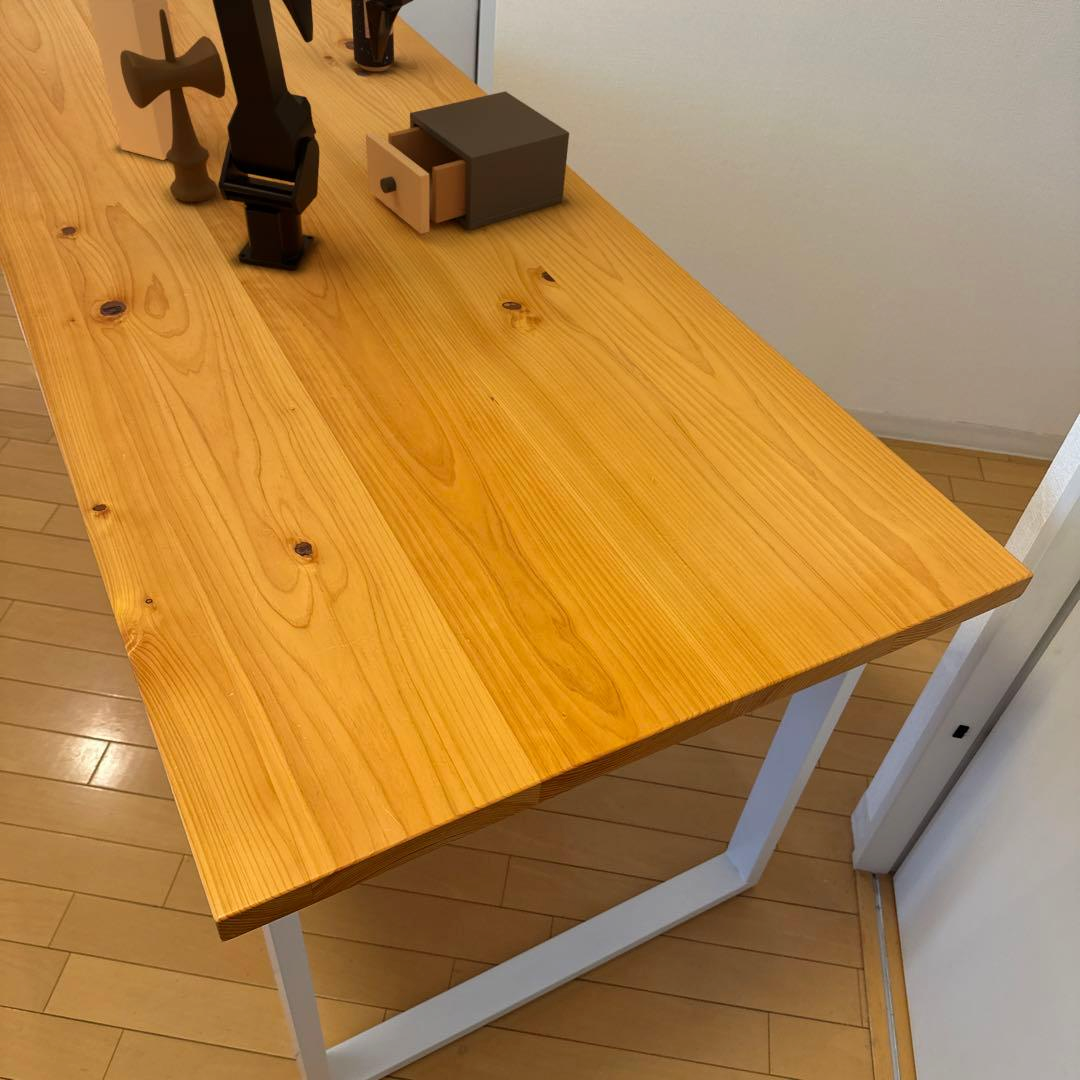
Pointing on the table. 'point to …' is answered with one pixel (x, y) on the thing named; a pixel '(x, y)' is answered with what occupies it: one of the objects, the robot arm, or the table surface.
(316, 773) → the table surface
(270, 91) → the robot arm
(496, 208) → the cabinet
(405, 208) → the drawer
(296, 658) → the table surface
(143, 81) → the kendama
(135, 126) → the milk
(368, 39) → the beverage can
